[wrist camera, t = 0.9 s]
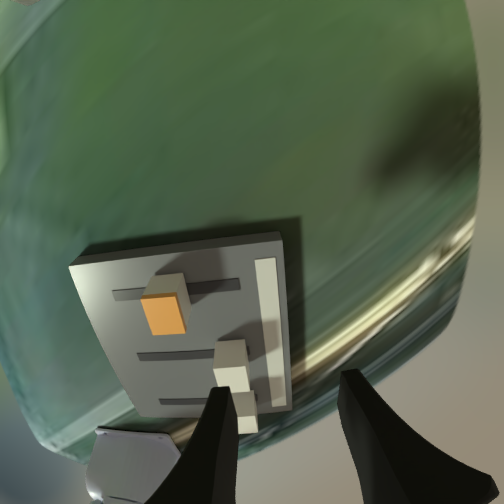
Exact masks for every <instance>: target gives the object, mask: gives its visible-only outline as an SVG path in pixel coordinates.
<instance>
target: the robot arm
mask: <svg viewBox="0 0 504 504" xmlns="http://www.w3.org/2000/svg"><path fill="white" fill-rule="evenodd" d="M337 405H338V410H339V415H340V419H341V424H342V428H343V431H344V434H345V437H346V440H347V442H348V446H349V449H350V452H351V455H352V458H353V461H354V463H355V466H356V469H357V473H358V476H359V480H360V485H361V490H362V495H363V501H364V504H488V503H490V502H491V501H492V500H494V499H495V498H496V497H497V496H498V495H499V491H498V488H497V486H496V484H495V482H494V480H493V479H492V477H491V476H490V475H488V474H486V473H483V472H481V471H478V470H476V469H474V468H472V467H469V466H467V465H465V464H464V463H462V462H460V461H458V460H456V459H454V458H452V457H450V456H449V455H447V454H446V453H444V452H443V451H441V450H440V449H438V448H436V447H435V446H434V445H432V444H431V443H430V442H428V441H427V440H426V439H424V438H423V437H422V436H421V435H419V434H418V433H417V432H416V431H414V430H413V429H412V428H411V427H410V426H409V425H408V424H407V423H406V422H405V421H403V420H402V419H401V418H400V417H399V416H398V415H397V414H396V413H395V412H394V411H393V410H392V409H391V407H390V406H389V405H388V404H387V403H386V402H385V401H384V400H383V399H382V398H381V397H380V395H379V394H378V393H377V392H376V391H375V389H374V388H373V387H372V386H371V385H370V383H369V382H368V381H367V380H366V378H365V377H364V376H363V374H362V373H361V372H360V370H358V369H352V370H347V371H342V372H341V379H340V387H339V394H338V402H337ZM95 432H96V433H97V438H96V441H95V444H94V448H93V451H92V454H91V457H90V460H89V464H88V467H87V471H86V487H87V490H88V493H89V494H90V496H91V497H92V498H93V499H94V500H95V501H92V502H91V503H90V504H236V502H235V486H236V473H237V458H238V443H239V435H238V416H237V413H236V409H235V405H234V401H233V398H232V394H231V390H230V386H221V387H213V388H211V390H210V393H209V396H208V399H207V402H206V405H205V407H204V410H203V412H202V415H201V417H200V419H199V421H198V424H197V426H196V428H195V430H194V432H193V434H192V436H191V438H190V440H189V442H188V444H187V445H186V447H185V449H184V451H183V453H182V454H181V453H180V452H179V450H178V449H177V447H176V446H175V444H174V442H173V441H172V439H171V437H170V436H169V435H168V434H162V433H143V432H130V431H119V430H110V429H101V428H96V429H95Z"/></svg>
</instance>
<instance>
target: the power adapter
mask: <svg viewBox="0 0 504 504" xmlns="http://www.w3.org/2000/svg"><path fill="white" fill-rule="evenodd" d="M11 1H14V2H17V3H20V4H23V5H25V6H29V5H32V4H34V3H36V2H38V1H40V0H11Z"/></svg>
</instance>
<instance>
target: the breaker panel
mask: <svg viewBox="0 0 504 504" xmlns="http://www.w3.org/2000/svg"><path fill="white" fill-rule="evenodd" d="M68 267H69V269H70V272H71V275H72V278H73V280H74V283H75V285H76V288H77V291H78V293H79V296H80V298H81V301H82V303H83V305H84V308H85V310H86V313H87V315H88V317H89V319H90V322H91V324H92V326H93V328H94V331H95V333H96V335H97V337H98V339H99V341H100V343H101V345H102V347H103V349H104V351H105V353H106V355H107V357H108V359H109V361H110V363H111V365H112V367H113V369H114V371H115V373H116V375H117V376H118V378H119V380H120V382H121V384H122V386H123V387H124V389H125V391H126V393H127V394H128V396H129V398H130V400H131V401H132V403H133V405H134V406H135V408H136V410H137V411H138V413H139V414H140V416H141V417H163V418H199V417H201V415H202V412H203V410H204V407H205V405H206V402H207V399H208V396H209V393H210V390H211V388H213V387H221V386H230V390H231V394H232V398H233V401H234V405H235V409H236V413H237V416H238V434H245V433H258V420H257V414H264V413H274V412H282V411H290V410H292V388H291V366H290V347H289V329H288V312H287V297H286V282H285V268H284V255H283V242H282V238H281V235H280V231H275V232H266V233H257V234H249V235H240V236H232V237H224V238H215V239H207V240H199V241H191V242H183V243H175V244H168V245H160V246H152V247H145V248H137V249H130V250H122V251H115V252H108V253H101V254H93V255H86V256H79V257H77V258H76V259H75V260H74V261H73V262H72V263H71V264H70V265H69V266H68ZM176 273H183V275H184V279H185V283H186V287H187V291H188V295H189V299H190V303H191V307H192V308H191V312H190V316H189V321H188V325H187V330H186V333H185V334H169V335H153V334H152V331H151V329H150V326H149V323H148V320H147V318H146V315H145V312H144V309H143V306H142V303H141V300H140V299H141V297H142V295H143V293H144V291H145V289H146V287H147V285H148V283H149V281H150V279H151V277H152V276H157V275H167V274H176Z"/></svg>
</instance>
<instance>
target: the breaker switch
mask: <svg viewBox="0 0 504 504" xmlns="http://www.w3.org/2000/svg"><path fill="white" fill-rule="evenodd" d="M140 300H141V303H142V306H143V309H144V312H145V315H146V318H147V320H148V323H149V326H150V329H151V331H152V334H153V335H169V334H185V333H186V330H187V325H188V321H189V316H190V312H191V308H192V307H191V303H190V299H189V295H188V291H187V287H186V283H185V279H184V275H183V273H176V274H167V275H157V276H152V277H151V279H150V281H149V283H148V285H147V287H146V289H145V291H144V293H143V295H142V297H141V299H140Z"/></svg>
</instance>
